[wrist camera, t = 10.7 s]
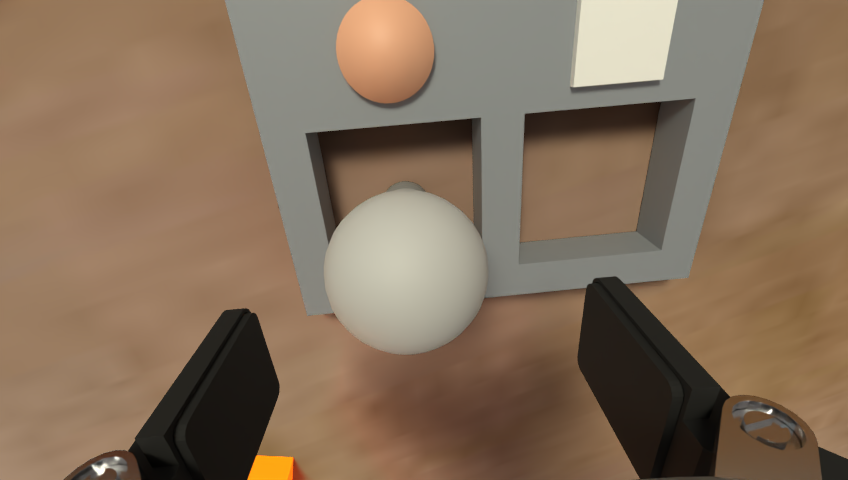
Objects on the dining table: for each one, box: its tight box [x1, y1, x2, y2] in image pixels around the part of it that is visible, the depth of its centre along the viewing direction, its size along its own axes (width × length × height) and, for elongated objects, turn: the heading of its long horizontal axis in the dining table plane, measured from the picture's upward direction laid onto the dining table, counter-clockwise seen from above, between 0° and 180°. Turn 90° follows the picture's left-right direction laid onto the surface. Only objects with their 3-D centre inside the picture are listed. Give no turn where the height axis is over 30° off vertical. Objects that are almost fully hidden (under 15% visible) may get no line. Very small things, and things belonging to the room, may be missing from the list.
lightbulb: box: [324, 181, 488, 355], centre depth 17 cm, size 6×6×11 cm
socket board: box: [225, 0, 764, 316], centre depth 20 cm, size 22×16×3 cm
